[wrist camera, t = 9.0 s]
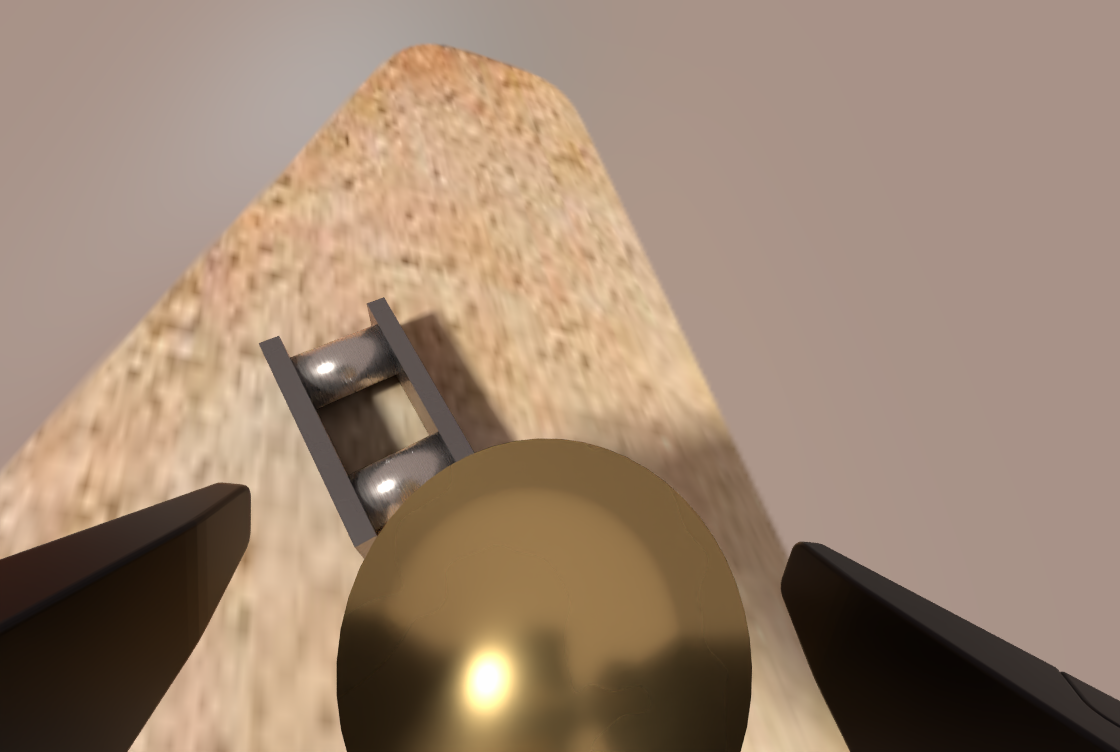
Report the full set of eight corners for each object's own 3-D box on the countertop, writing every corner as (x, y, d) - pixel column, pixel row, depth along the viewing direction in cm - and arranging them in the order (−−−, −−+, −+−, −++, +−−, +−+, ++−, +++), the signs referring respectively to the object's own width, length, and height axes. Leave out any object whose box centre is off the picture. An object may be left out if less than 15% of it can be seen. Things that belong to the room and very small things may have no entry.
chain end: (482, 493, 18) (487, 475, 16) (364, 559, 16) (354, 547, 14) (389, 329, 20) (384, 297, 18) (276, 373, 18) (258, 343, 16)
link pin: (526, 773, 14) (689, 1013, 5) (373, 696, 14) (232, 778, 5) (588, 603, 17) (784, 533, 7) (455, 538, 17) (470, 381, 7)
